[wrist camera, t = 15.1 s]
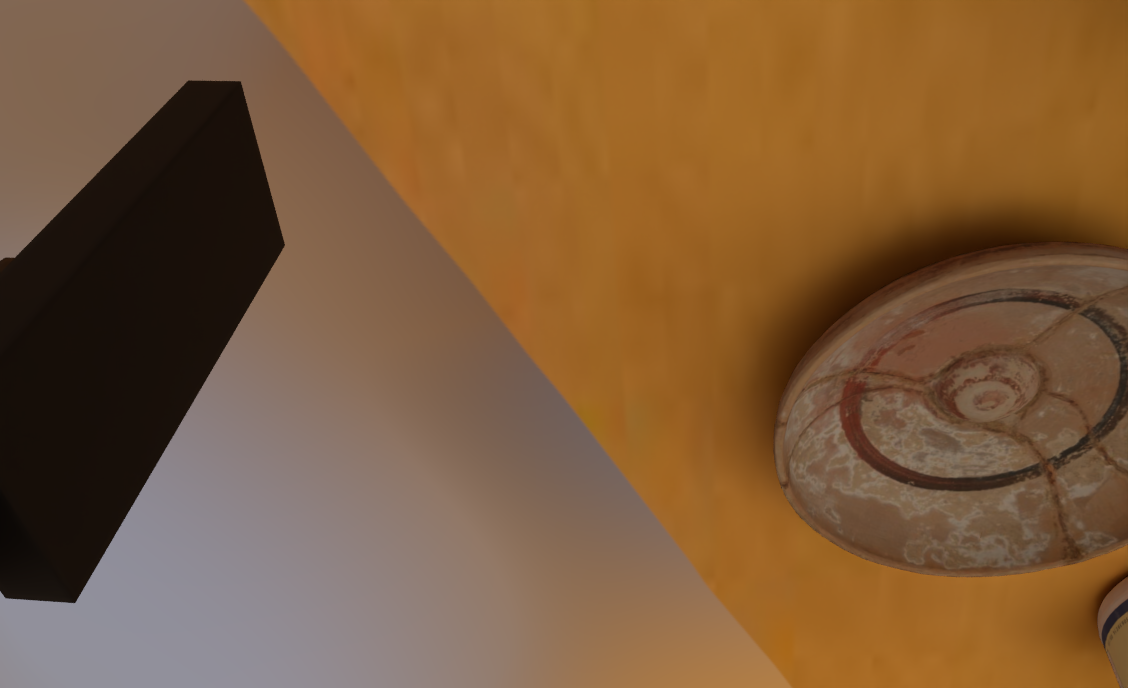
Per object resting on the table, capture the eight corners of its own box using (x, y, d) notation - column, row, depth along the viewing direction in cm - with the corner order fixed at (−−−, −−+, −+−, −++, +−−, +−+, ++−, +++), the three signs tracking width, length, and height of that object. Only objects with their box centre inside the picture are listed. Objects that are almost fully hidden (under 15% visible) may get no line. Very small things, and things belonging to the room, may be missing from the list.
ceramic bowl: (895, 559, 60) (910, 625, 56) (684, 347, 50) (684, 410, 46) (1288, 415, 49) (1338, 486, 45) (1117, 102, 38) (1164, 159, 35)
